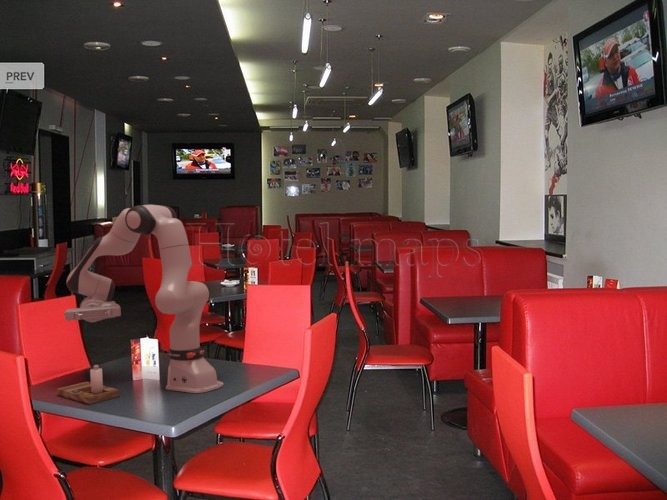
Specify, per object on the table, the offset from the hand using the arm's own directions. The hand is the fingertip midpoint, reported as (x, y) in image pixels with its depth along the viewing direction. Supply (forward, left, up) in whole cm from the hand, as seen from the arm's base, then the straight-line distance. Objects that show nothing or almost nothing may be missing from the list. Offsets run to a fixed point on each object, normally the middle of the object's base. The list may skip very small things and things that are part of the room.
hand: (93, 315), depth 250 cm
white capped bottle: (-12, +8, -27) cm, 31 cm away
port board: (-6, +8, -28) cm, 29 cm away
